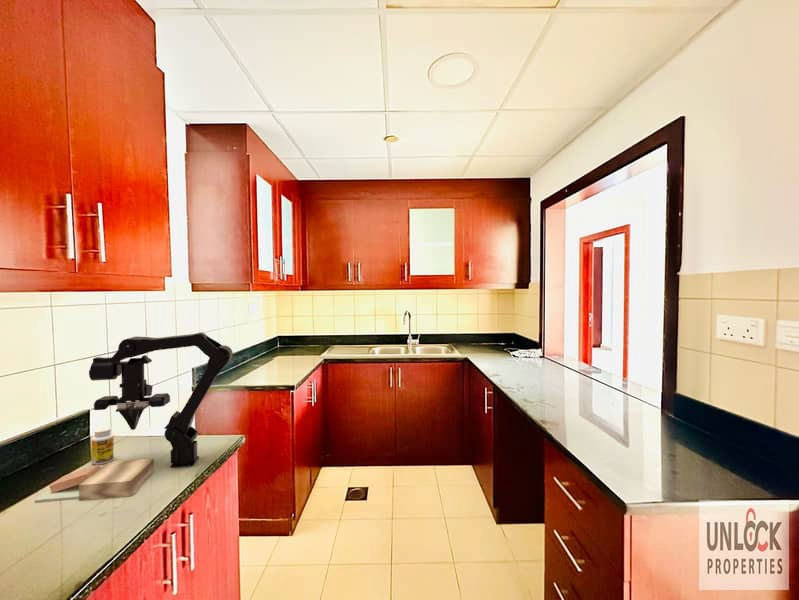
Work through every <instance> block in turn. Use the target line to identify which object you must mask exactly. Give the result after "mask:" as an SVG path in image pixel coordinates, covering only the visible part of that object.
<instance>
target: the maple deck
mask: <svg viewBox="0 0 799 600" xmlns="http://www.w3.org/2000/svg"><path fill="white" fill-rule="evenodd" d="M154 461H155V459H154V458H147V459H145V458H144V459H133V460H119V461H117V460H116V461H110V462H108V463H105V464H103V465H102V467H100V469H99V470H98V471H96V472H95V473H94V474H93V475H91V476H90V477H89V478H87V479H86V480H85V481H84V482H82V483H81V484H80V485H79V499H78V500H79V501H89V500H100V498H102V499H111V498H112V497H113V498H123V496H124V497H132V496H133V494H135V492H137V490H138V489H139V488H141V487H142V485H143V484H144V483H146V481H147V480H148V479H149V477H151V476H152V475H153V473H155V462H154ZM113 498H112V499H113Z"/></svg>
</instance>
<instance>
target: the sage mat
mask: <svg viewBox="0 0 799 600" xmlns="http://www.w3.org/2000/svg"><path fill="white" fill-rule="evenodd" d="M79 485H80V484H78V485H75V486H72V487H69V488H66V489H63V490H60V491H57V492H54V493H52V492H51V489H50V488H49V489H48V490H47V491H46V492H44V493H43V494H41V495H40V496H38V497H37V498H35V500H34V503H44V502H58V501H66V500H68V501H69V500H79Z"/></svg>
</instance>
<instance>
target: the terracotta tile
mask: <svg viewBox="0 0 799 600" xmlns="http://www.w3.org/2000/svg"><path fill="white" fill-rule="evenodd" d="M100 468H101V464H100V465H93V466H90V467H88V468H84V469H80V470H78V471H74V472H70V473H68V474H65V475H63V476H62V477H60V478H58V479H57V480H56V481H54V482H52V484H50V485H49V490H50V489H51V492H52V493H54V492H57V491H60V490H63V489H66V488H69V487H72V486H75V485H78V484H81V483H82V482H84V481H85V480H86V479H87V478H89V477H90V476H91V475H93V474H94V473H95V472H96V471H98V470H99V469H100Z"/></svg>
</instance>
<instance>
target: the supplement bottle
mask: <svg viewBox="0 0 799 600" xmlns="http://www.w3.org/2000/svg"><path fill="white" fill-rule="evenodd" d="M113 460H114V434H113V433H112V432H111V427H101V428H98V429H95V430H94V435H93V436H92V437H91V463H92V465H94V466H96V465H100V466H101V465H105V464H107V463H108V462H113Z"/></svg>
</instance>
